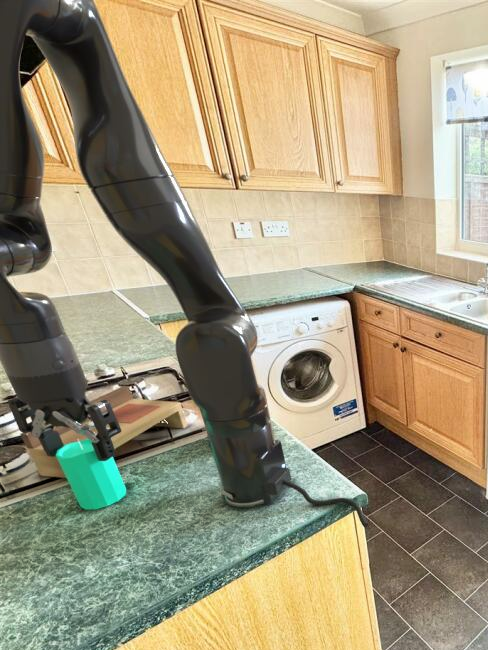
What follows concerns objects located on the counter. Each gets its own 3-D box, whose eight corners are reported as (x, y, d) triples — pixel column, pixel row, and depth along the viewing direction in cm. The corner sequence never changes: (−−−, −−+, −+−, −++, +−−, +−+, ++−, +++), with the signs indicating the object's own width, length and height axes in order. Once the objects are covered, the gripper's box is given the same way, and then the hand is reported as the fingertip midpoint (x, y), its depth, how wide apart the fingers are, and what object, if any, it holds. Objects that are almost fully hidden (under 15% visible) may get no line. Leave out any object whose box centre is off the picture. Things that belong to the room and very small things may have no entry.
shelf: (187, 425, 94) (176, 390, 91) (103, 481, 76) (85, 439, 72) (136, 421, 95) (123, 385, 91) (41, 475, 77) (19, 433, 73)
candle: (130, 497, 73) (106, 439, 68) (83, 515, 69) (54, 454, 64) (122, 482, 76) (98, 425, 71) (77, 498, 72) (48, 439, 67)
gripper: (113, 360, 65) (144, 447, 72) (25, 352, 65) (63, 440, 72) (63, 379, 58) (102, 474, 65) (-35, 370, 59) (14, 465, 65)
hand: (82, 456), depth 69 cm, fingers open, 8 cm apart
